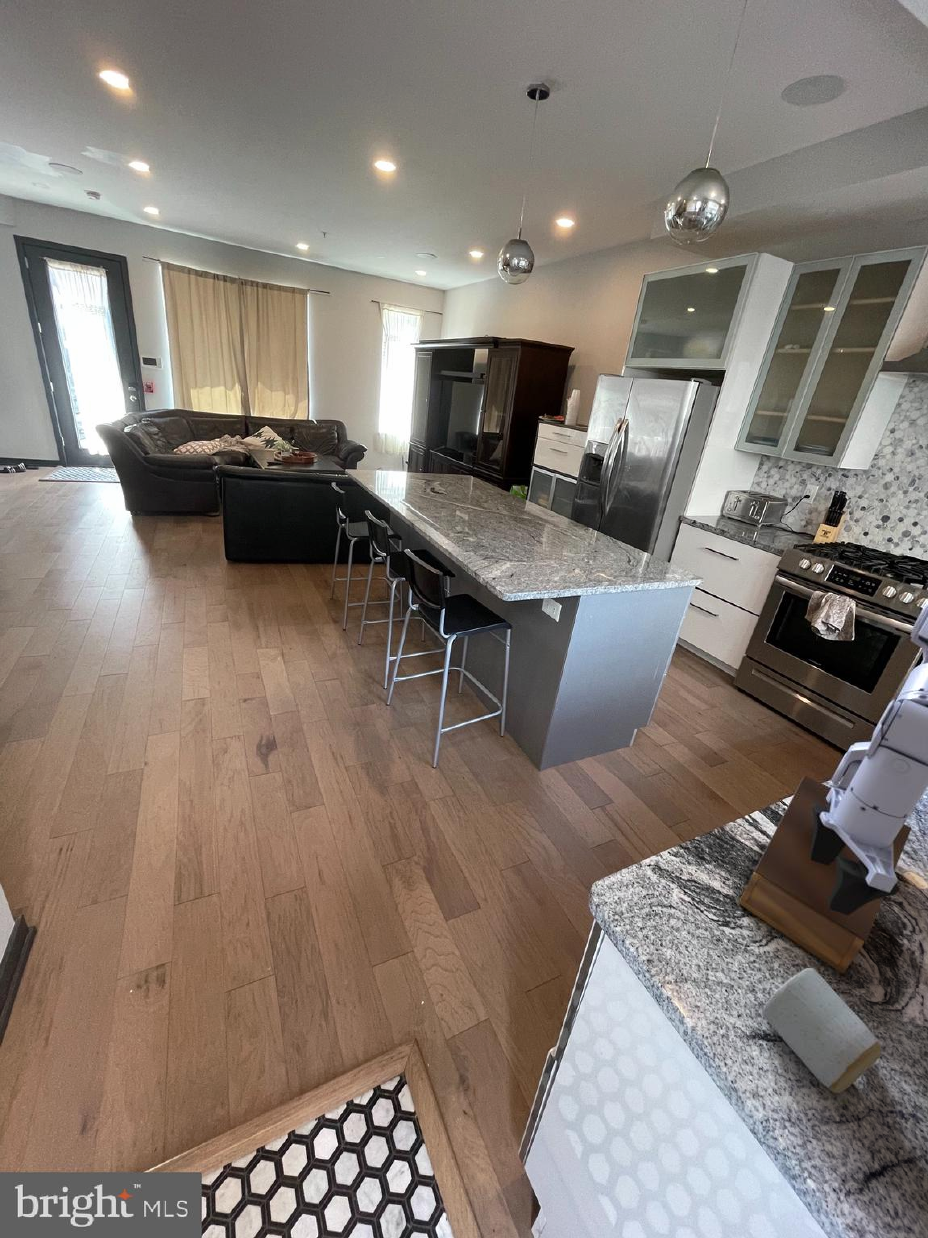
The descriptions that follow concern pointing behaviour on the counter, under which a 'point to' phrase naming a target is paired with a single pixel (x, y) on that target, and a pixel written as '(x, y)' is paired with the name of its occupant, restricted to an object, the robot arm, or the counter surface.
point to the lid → (808, 878)
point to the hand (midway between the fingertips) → (827, 884)
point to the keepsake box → (801, 923)
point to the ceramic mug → (822, 1030)
